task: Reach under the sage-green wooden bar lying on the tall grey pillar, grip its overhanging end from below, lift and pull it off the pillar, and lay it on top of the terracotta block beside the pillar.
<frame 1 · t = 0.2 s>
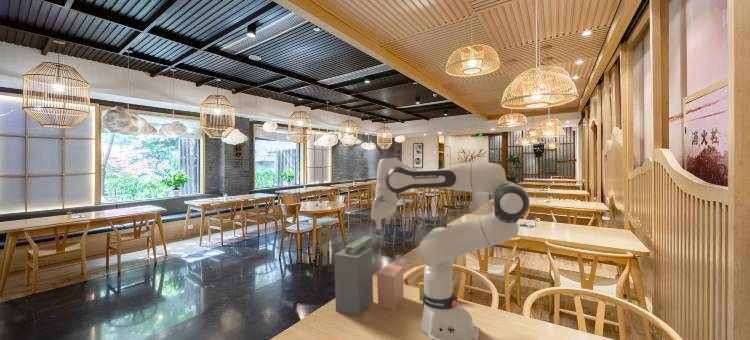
hand: (383, 226, 121), 39 cm above the table, tool pointing down, fingers open, 8 cm apart
tall grey pillar: (355, 306, 130), on the table
candy box: (436, 300, 135), on the table
sage bar: (359, 247, 134), point 26 cm above the table, touching tall grey pillar
terracotta block: (391, 301, 134), on the table
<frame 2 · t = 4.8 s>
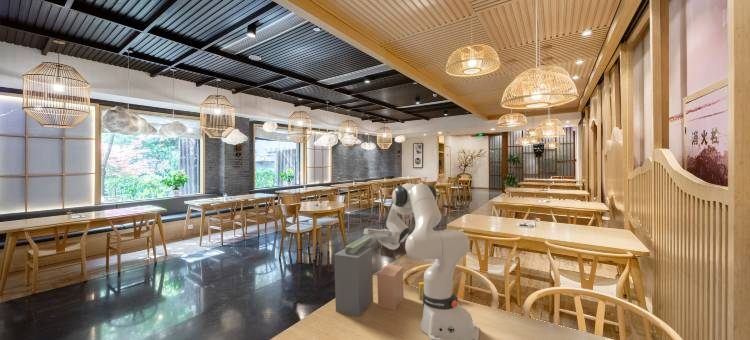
hand: (376, 230, 152), 30 cm above the table, tool pointing upward, fingers open, 8 cm apart
nothing on the table moved.
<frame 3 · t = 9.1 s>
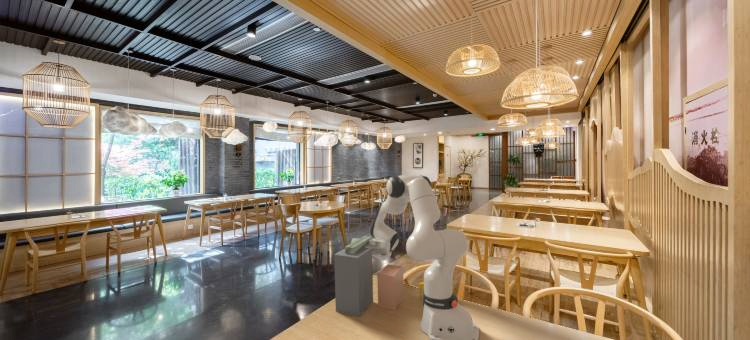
hand: (364, 240, 139), 28 cm above the table, tool pointing upward, fingers closed on sage bar, 4 cm apart
sage bar: (359, 247, 134), point 26 cm above the table, touching tall grey pillar, gripper
everything else where it was.
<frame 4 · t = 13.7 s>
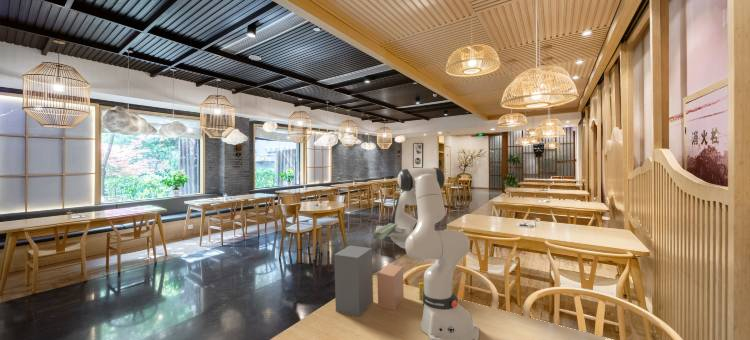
hand: (390, 227, 141), 34 cm above the table, tool pointing upward, fingers closed on sage bar, 4 cm apart
sage bar: (386, 233, 136), point 32 cm above the table, touching gripper
everything else where it was.
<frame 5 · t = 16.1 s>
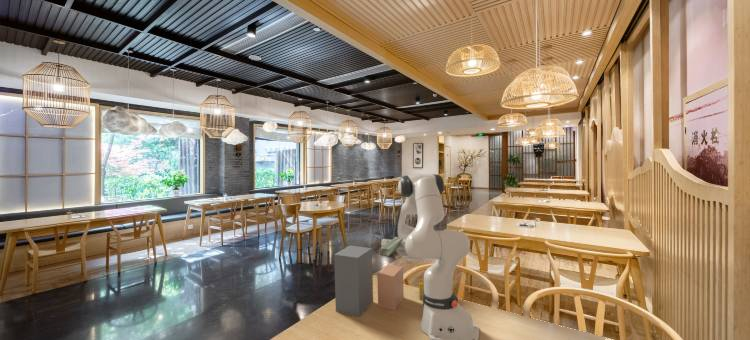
hand: (396, 241, 140), 27 cm above the table, tool pointing upward, fingers closed on sage bar, 4 cm apart
sage bar: (392, 248, 135), point 25 cm above the table, touching gripper
everything else where it was.
when the fingers open (18 cm above the table, at t = 18.3 s): sage bar drops 1 cm, resting on terracotta block.
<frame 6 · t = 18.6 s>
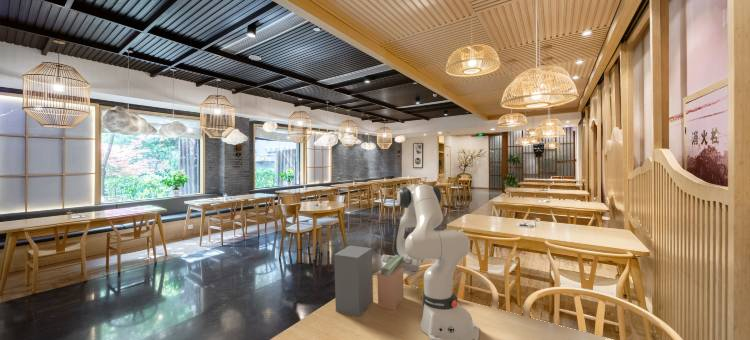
hand: (396, 258, 140), 18 cm above the table, tool pointing upward, fingers open, 6 cm apart
sage bar: (392, 267, 136), point 15 cm above the table, touching terracotta block
everything else where it was.
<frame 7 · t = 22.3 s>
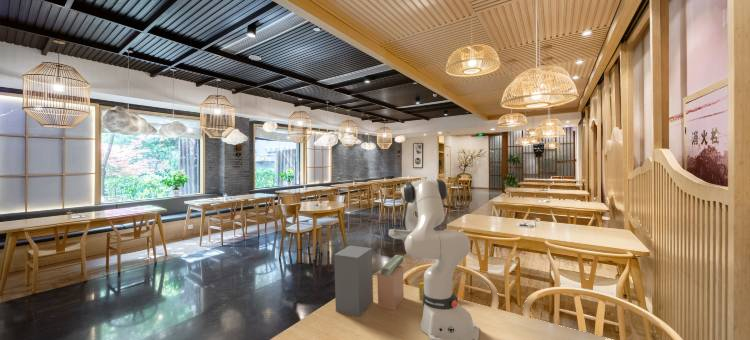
hand: (402, 230, 149), 30 cm above the table, tool pointing upward, fingers open, 8 cm apart
nothing on the table moved.
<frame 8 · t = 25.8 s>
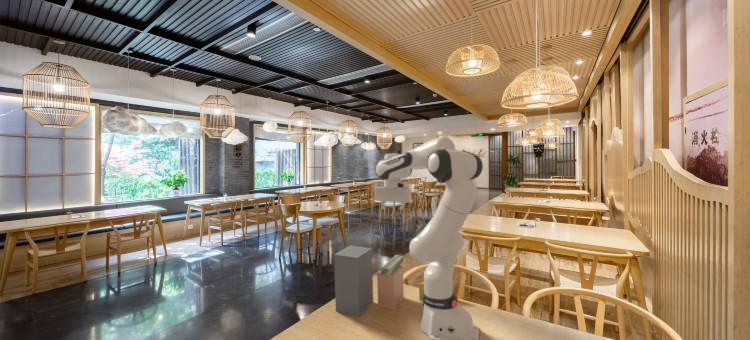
hand: (392, 209, 149), 41 cm above the table, tool pointing down, fingers open, 8 cm apart
nothing on the table moved.
at the end: sage bar inside the target area on the terracotta block (0.8 cm from its centre), point 15.5 cm above the terracotta block's base; sage bar touching terracotta block; the gripper is holding nothing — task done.
